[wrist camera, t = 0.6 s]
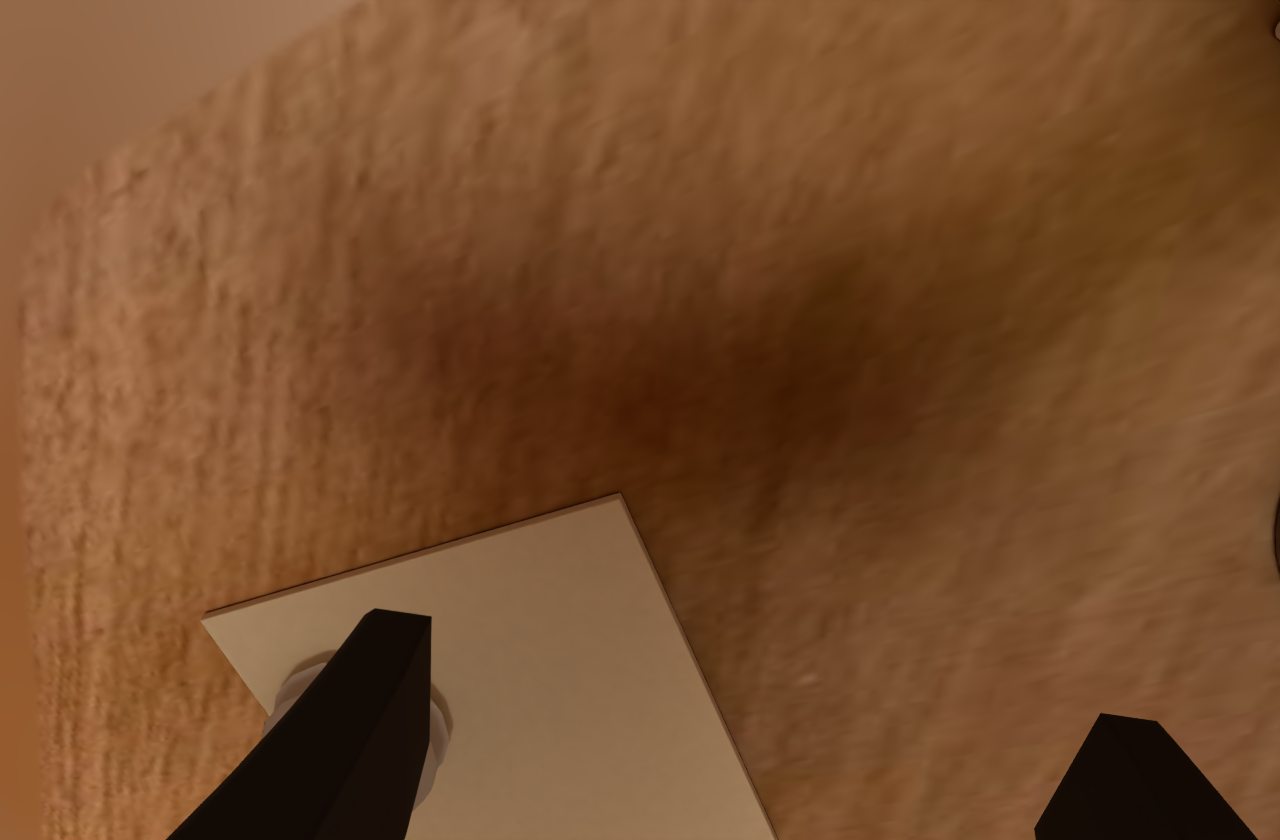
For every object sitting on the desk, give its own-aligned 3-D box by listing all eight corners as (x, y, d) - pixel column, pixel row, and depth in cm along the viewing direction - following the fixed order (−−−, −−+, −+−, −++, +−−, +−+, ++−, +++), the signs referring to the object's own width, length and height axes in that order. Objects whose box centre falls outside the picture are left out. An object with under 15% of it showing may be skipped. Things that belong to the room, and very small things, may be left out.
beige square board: (423, 918, 30) (420, 926, 29) (204, 612, 25) (199, 620, 24) (781, 846, 27) (782, 855, 27) (620, 491, 22) (619, 498, 22)
